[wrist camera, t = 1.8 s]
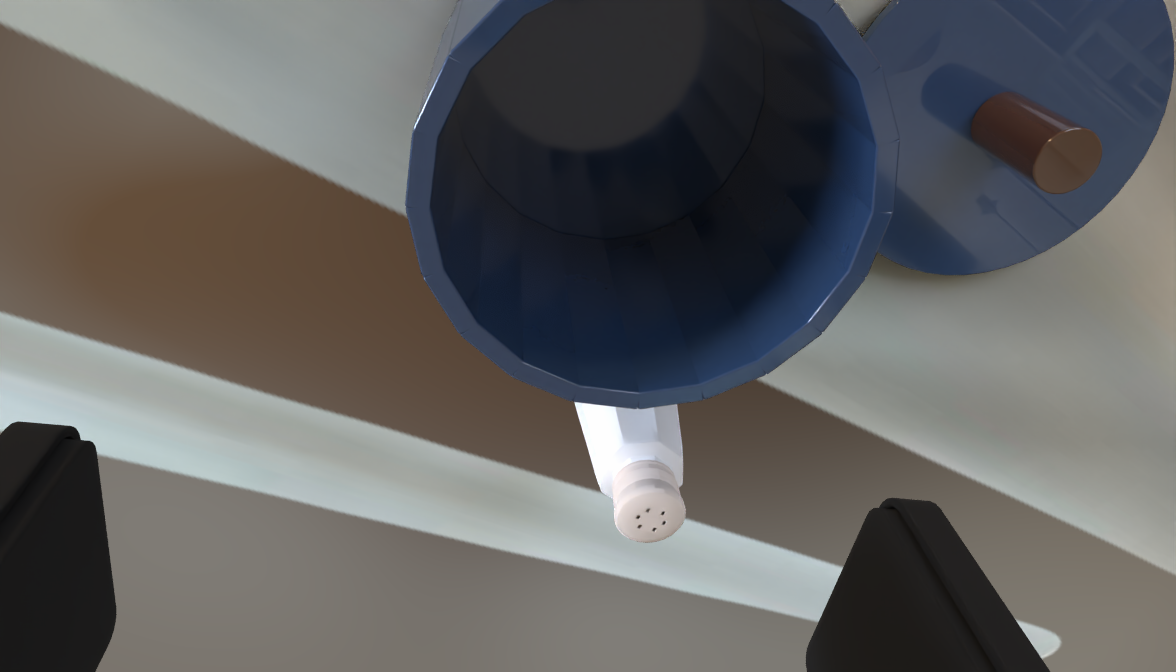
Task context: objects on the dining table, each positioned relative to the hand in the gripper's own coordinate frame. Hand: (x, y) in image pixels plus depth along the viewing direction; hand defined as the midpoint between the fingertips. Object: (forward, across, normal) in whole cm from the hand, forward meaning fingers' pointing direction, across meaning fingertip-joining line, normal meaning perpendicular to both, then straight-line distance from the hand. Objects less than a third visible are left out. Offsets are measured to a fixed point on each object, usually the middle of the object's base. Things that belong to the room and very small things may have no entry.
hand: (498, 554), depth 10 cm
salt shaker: (+28, -8, +13) cm, 32 cm away
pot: (+27, -5, 0) cm, 27 cm away
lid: (+26, -21, -2) cm, 34 cm away
